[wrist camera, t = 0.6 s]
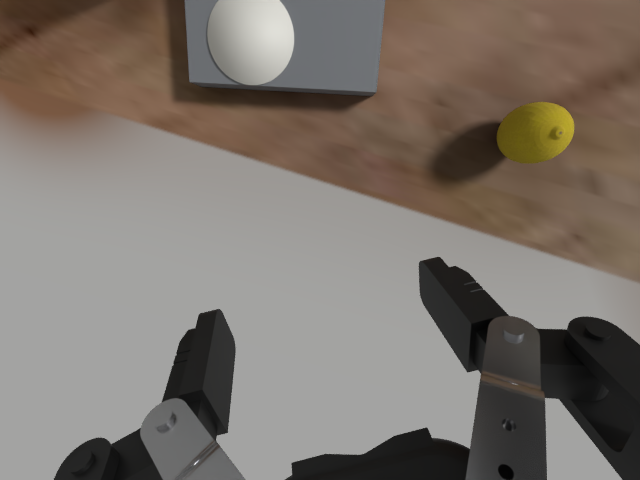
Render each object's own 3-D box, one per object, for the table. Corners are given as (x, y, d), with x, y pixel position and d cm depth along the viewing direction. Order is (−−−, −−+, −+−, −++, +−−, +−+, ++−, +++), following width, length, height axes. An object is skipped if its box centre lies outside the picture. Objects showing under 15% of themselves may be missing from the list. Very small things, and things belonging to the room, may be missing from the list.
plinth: (193, -79, 30) (177, -104, 27) (387, -70, 30) (394, -93, 27) (201, 86, 34) (188, 81, 31) (372, 96, 34) (376, 91, 31)
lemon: (487, 167, 36) (530, 174, 28) (479, 115, 34) (522, 108, 27) (539, 152, 35) (597, 155, 28) (533, 99, 34) (593, 87, 26)
